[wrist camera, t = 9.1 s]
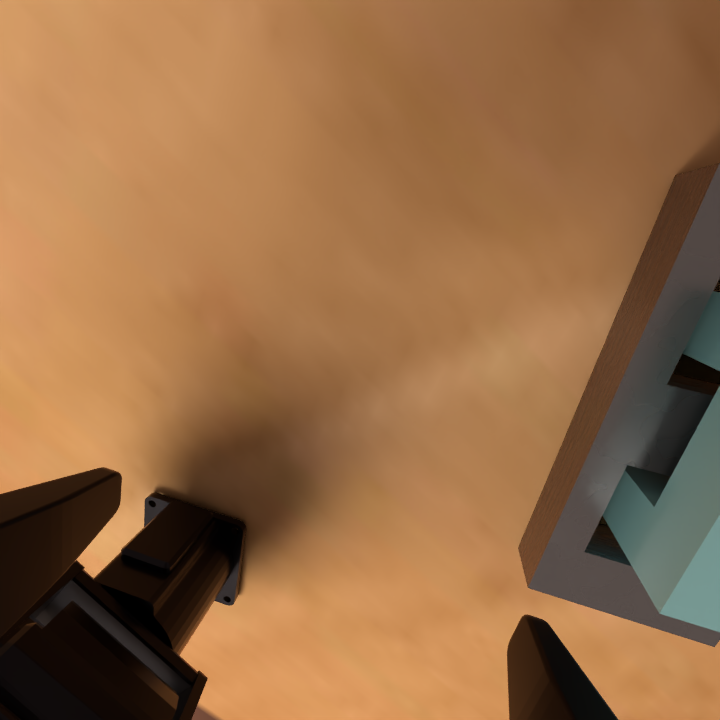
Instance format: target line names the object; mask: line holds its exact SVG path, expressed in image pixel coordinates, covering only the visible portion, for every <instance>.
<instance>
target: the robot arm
mask: <svg viewBox="0 0 720 720" xmlns="http://www.w3.org/2000/svg"><path fill="white" fill-rule="evenodd" d="M121 483H122V476H121V474H120V473H119V472H117V471H114V470H111V469H108V468H104V467H103V468H97V469H94V470H90V471H86V472H82V473H78V474H75V475H71V476H67V477H63V478H60V479H56V480H52V481H48V482H44V483H41V484H37V485H33V486H29V487H26V488H22V489H18V490H14V491H10V492H7V493H3V494H0V720H191V719H192V716H193V714H194V712H195V709H196V707H197V704H198V702H199V699H200V696H201V694H202V691H203V689H204V686H205V684H206V681H207V677H206V676H205V675H204V674H203V673H202V672H201V671H198V672H197V671H196V670H195V669H194V668H193V667H191V666H190V665H189V664H188V663H187V662H186V661H185V660H184V659H183V658H181V657H180V656H179V655H180V654H181V652H182V651H183V649H184V647H185V646H186V644H187V643H188V641H189V640H190V638H191V636H192V635H193V633H194V632H195V630H196V629H197V627H198V625H199V624H200V622H201V621H202V619H203V618H204V616H205V614H206V613H207V611H208V610H209V608H210V607H211V605H212V603H213V602H214V601H217V602H220V603H223V604H225V605H233V604H234V602H235V601H236V599H237V597H238V589H239V582H240V574H241V566H242V559H243V551H244V543H245V536H246V525H245V524H244V523H243V522H242V521H240V520H238V519H235V518H232V517H229V516H226V515H223V514H220V513H216V512H213V511H210V510H207V509H204V508H201V507H198V506H195V505H192V504H189V503H186V502H183V501H180V500H177V499H174V498H170V497H167V496H164V495H161V494H158V493H152V494H150V495H149V496H148V497H147V498H146V499H145V518H144V528H143V529H142V530H141V531H140V532H139V533H138V534H137V535H136V536H135V537H134V538H133V539H132V540H130V541H129V542H128V543H127V544H126V545H125V546H124V547H123V548H122V550H121V552H120V553H119V554H118V555H117V556H116V557H115V558H114V559H113V560H112V561H111V562H110V563H109V564H108V565H107V566H106V567H105V568H104V569H103V570H102V571H101V572H100V573H99V574H98V575H97V576H96V577H95V578H94V579H93V578H92V577H91V576H90V575H89V574H88V573H87V572H86V571H85V570H83V569H84V568H85V567H84V566H83V565H81V564H80V563H79V562H78V561H77V560H76V559H77V558H78V557H79V556H80V555H81V553H82V552H83V551H84V550H85V549H86V547H87V546H88V545H89V544H90V543H91V542H92V540H93V539H94V538H95V537H96V536H97V534H98V533H99V532H100V531H101V530H102V529H103V527H104V526H105V525H106V524H107V523H108V521H109V520H110V519H111V518H112V517H113V516H114V514H115V513H116V511H117V510H118V508H119V505H120V500H121ZM236 528H237V529H238V530H237V529H236ZM75 560H76V561H75ZM507 666H508V694H509V720H618V719H617V717H616V716H615V714H614V713H613V712H612V710H611V709H610V708H609V706H608V705H607V703H606V702H605V701H604V699H603V698H602V697H601V695H600V694H599V692H598V691H597V690H596V688H595V687H594V686H593V684H592V683H591V682H590V680H589V679H588V677H587V676H586V675H585V673H584V672H583V671H582V669H581V668H580V666H579V665H578V664H577V662H576V661H575V660H574V658H573V657H572V655H571V654H570V653H569V651H568V650H567V649H566V647H565V646H564V645H563V643H562V642H561V640H560V639H559V638H558V636H557V635H556V634H555V632H554V631H553V629H552V628H551V627H550V625H549V624H548V623H547V622H546V621H544V620H542V619H539V618H536V617H534V616H531V615H524V616H522V618H521V619H520V621H519V623H518V625H517V627H516V629H515V631H514V633H513V635H512V637H511V639H510V642H509V645H508V650H507Z"/></svg>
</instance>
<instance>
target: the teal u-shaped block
mask: <svg viewBox="0 0 720 720" xmlns="http://www.w3.org/2000/svg"><path fill="white" fill-rule="evenodd" d="M682 354H685V355H687V356H689V357H691V358H693V359H695V360H697V361H699V362H701V363H704V364H706V365H708V366H710V367H712V368H714V369H716V370H718V371H720V292H715V291H713V292H712V294H711V297H710V299H709V301H708V303H707V305H706V307H705V309H704V311H703V313H702V315H701V317H700V319H699V321H698V323H697V325H696V327H695V329H694V331H693V333H692V335H691V337H690V339H689V341H688V343H687V345H686V347H685V349H684V351H683V353H682ZM603 517H604V519H605V521H606V522H607V524H608V526H609V527H610V529H611V531H612V533H613V534H614V536H615V538H616V540H617V541H618V543H619V545H620V546H621V548H622V550H623V552H624V553H625V555H626V557H627V559H628V560H629V562H630V564H631V565H632V567H633V569H634V571H635V572H636V574H637V576H638V578H639V579H640V581H641V583H642V584H643V586H644V588H645V590H646V591H647V593H648V595H649V596H650V598H651V600H652V602H653V603H654V605H655V607H656V609H657V610H658V612H659V614H662V615H666V616H669V617H672V618H675V619H679V620H682V621H685V622H688V623H691V624H695V625H698V626H701V627H704V628H708V629H711V630H714V631H717V632H720V386H719V388H718V390H717V392H716V394H715V395H714V397H713V399H712V401H711V403H710V405H709V407H708V408H707V410H706V412H705V414H704V416H703V418H702V420H701V421H700V423H699V425H698V427H697V429H696V431H695V433H694V434H693V436H692V438H691V440H690V442H689V444H688V446H687V447H686V449H685V451H684V453H683V455H682V457H681V459H680V460H679V462H678V464H677V466H676V468H675V470H674V472H673V473H672V475H671V476H667V475H663V474H660V473H656V472H652V471H648V470H645V469H641V468H637V467H634V466H630V465H627V467H626V469H625V471H624V473H623V475H622V477H621V479H620V481H619V483H618V485H617V487H616V489H615V491H614V493H613V495H612V497H611V499H610V501H609V503H608V505H607V507H606V509H605V511H604V513H603Z"/></svg>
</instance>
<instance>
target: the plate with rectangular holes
mask: <svg viewBox="0 0 720 720" xmlns="http://www.w3.org/2000/svg"><path fill="white" fill-rule="evenodd" d="M719 278H720V163H718V164H715V165H711V166H708V167H704V168H700V169H697V170H693V171H690V172H686V173H683V174H679V175H675V178H674V180H673V183H672V185H671V187H670V190H669V192H668V194H667V197H666V199H665V202H664V204H663V206H662V209H661V211H660V213H659V216H658V218H657V221H656V223H655V225H654V228H653V230H652V232H651V235H650V237H649V239H648V242H647V244H646V247H645V249H644V251H643V254H642V256H641V258H640V261H639V263H638V266H637V268H636V270H635V273H634V275H633V277H632V280H631V282H630V285H629V287H628V289H627V292H626V294H625V296H624V299H623V301H622V303H621V306H620V308H619V311H618V313H617V315H616V318H615V320H614V322H613V325H612V327H611V330H610V332H609V334H608V337H607V339H606V341H605V344H604V346H603V348H602V351H601V353H600V356H599V358H598V360H597V363H596V365H595V367H594V370H593V372H592V375H591V377H590V379H589V382H588V384H587V386H586V389H585V391H584V394H583V396H582V398H581V401H580V403H579V405H578V408H577V410H576V412H575V415H574V417H573V420H572V422H571V424H570V427H569V429H568V431H567V434H566V436H565V439H564V441H563V443H562V446H561V448H560V450H559V453H558V455H557V457H556V460H555V462H554V465H553V467H552V469H551V472H550V474H549V476H548V479H547V481H546V484H545V486H544V488H543V491H542V493H541V495H540V498H539V500H538V503H537V505H536V507H535V510H534V512H533V514H532V517H531V519H530V521H529V524H528V526H527V529H526V531H525V533H524V536H523V538H522V540H521V543H520V545H519V548H518V549H519V553H520V557H521V561H522V565H523V570H524V574H525V578H526V582H527V586H528V588H530V589H533V590H536V591H540V592H543V593H546V594H549V595H552V596H555V597H558V598H562V599H565V600H568V601H571V602H574V603H577V604H581V605H584V606H587V607H590V608H593V609H596V610H599V611H603V612H606V613H609V614H612V615H615V616H618V617H621V618H625V619H628V620H631V621H634V622H637V623H640V624H644V625H647V626H650V627H653V628H656V629H659V630H662V631H666V632H669V633H672V634H675V635H678V636H681V637H684V638H688V639H691V640H694V641H697V642H700V643H703V644H707V645H710V646H713V647H715V646H716V644H717V643H718V642H719V640H720V632H717V631H714V630H711V629H708V628H704V627H701V626H698V625H695V624H691V623H688V622H685V621H682V620H679V619H675V618H672V617H669V616H666V615H662V614H659V612H658V610H657V609H656V607H655V605H654V603H653V602H652V600H651V598H650V596H649V595H648V593H647V591H646V590H645V588H644V586H643V584H642V583H641V581H640V579H639V578H638V576H637V574H636V572H635V571H634V569H633V567H632V565H631V564H630V562H629V560H628V559H627V557H626V555H625V553H624V552H623V550H622V548H621V546H620V545H619V543H618V541H617V540H616V538H615V536H614V534H613V533H612V531H611V529H610V527H609V526H605V525H602V524H598V523H599V521H600V519H601V517H602V515H603V513H604V511H605V509H606V507H607V505H608V503H609V501H610V499H611V497H612V495H613V493H614V491H615V489H616V487H617V485H618V483H619V481H620V479H621V477H622V475H623V473H624V471H625V469H626V467H627V465H630V466H634V467H637V468H641V469H645V470H648V471H652V472H656V473H660V474H663V475H667V476H671V475H672V473H673V472H674V470H675V468H676V466H677V464H678V462H679V460H680V459H681V457H682V455H683V453H684V451H685V449H686V447H687V446H688V444H689V442H690V440H691V438H692V436H693V434H694V433H695V431H696V429H697V427H698V425H699V423H700V421H701V420H702V418H703V416H704V414H705V412H706V410H707V408H708V407H709V405H710V403H711V401H712V399H713V397H714V395H715V394H716V392H717V390H718V388H719V386H720V385H719V384H714V383H710V382H706V381H702V380H698V379H693V378H689V377H685V376H681V375H677V374H672V373H673V371H674V369H675V367H676V365H677V363H678V361H679V359H680V357H681V355H682V353H683V351H684V349H685V347H686V345H687V343H688V341H689V339H690V337H691V335H692V333H693V331H694V329H695V327H696V325H697V323H698V321H699V319H700V317H701V315H702V313H703V311H704V309H705V307H706V305H707V303H708V301H709V299H710V297H711V294H712V292H713V290H714V288H715V286H716V284H717V282H718V280H719Z"/></svg>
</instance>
